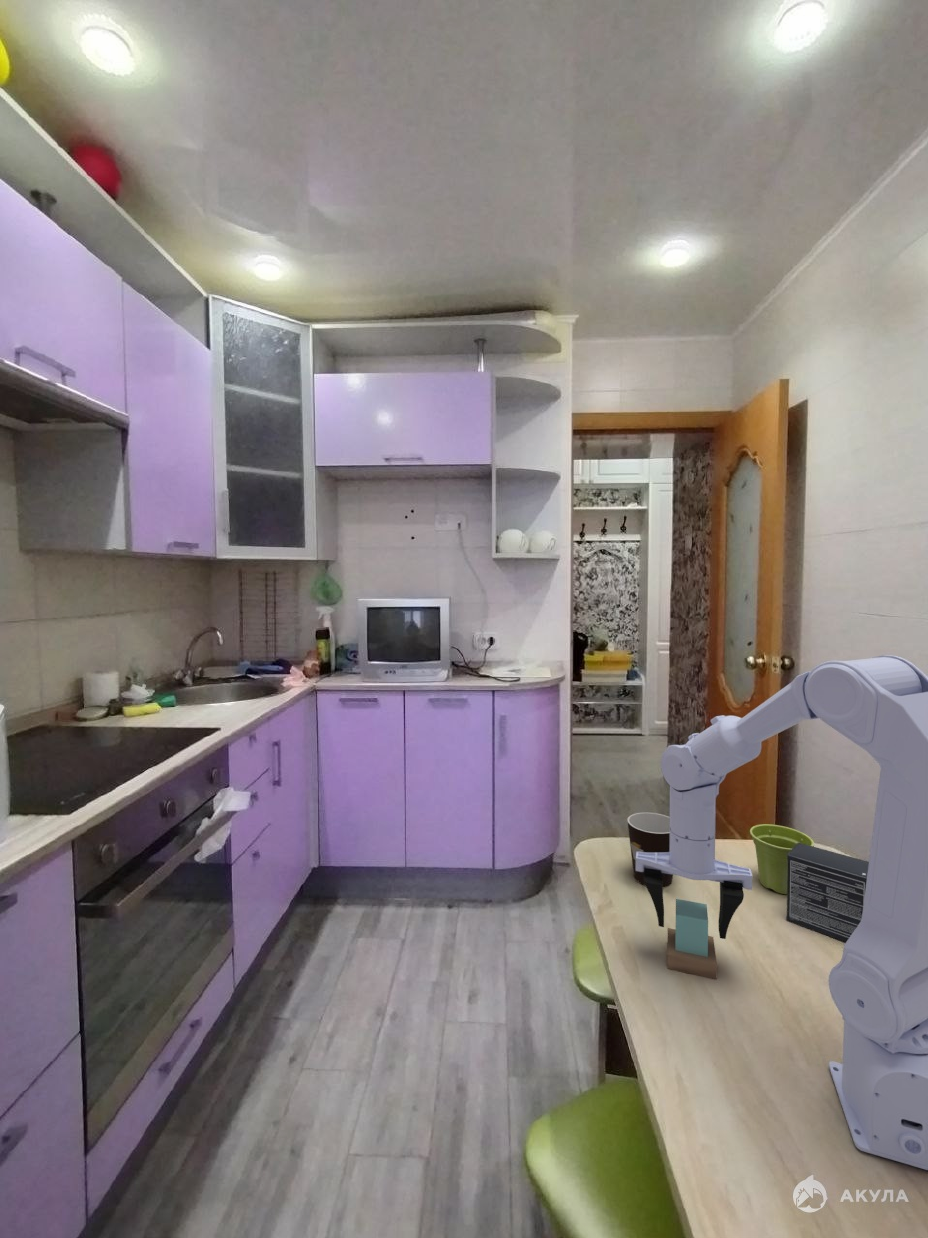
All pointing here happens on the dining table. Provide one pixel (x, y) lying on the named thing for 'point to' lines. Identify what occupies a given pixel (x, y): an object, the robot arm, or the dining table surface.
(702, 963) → the base brick
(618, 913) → the dining table surface
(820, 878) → the small box
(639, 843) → the coffee mug
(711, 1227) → the dining table surface
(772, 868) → the plant pot
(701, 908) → the teal brick
